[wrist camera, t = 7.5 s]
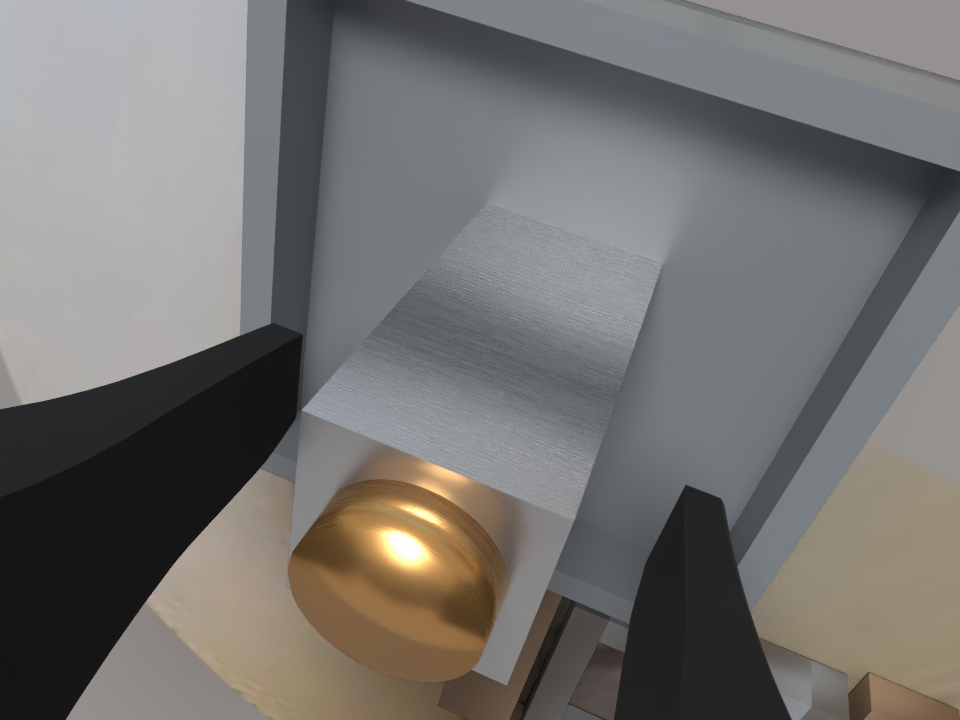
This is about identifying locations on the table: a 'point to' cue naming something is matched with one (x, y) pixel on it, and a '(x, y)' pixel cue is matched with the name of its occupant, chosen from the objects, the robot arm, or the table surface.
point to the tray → (622, 229)
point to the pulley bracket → (547, 715)
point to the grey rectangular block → (462, 448)
